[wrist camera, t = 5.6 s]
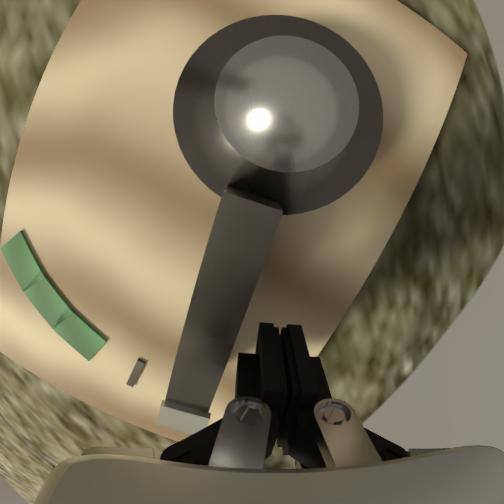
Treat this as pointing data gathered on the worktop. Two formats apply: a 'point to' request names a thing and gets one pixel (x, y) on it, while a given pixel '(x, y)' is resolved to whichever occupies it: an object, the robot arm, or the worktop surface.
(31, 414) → the worktop surface
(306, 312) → the tuner board
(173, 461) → the robot arm
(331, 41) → the dial
